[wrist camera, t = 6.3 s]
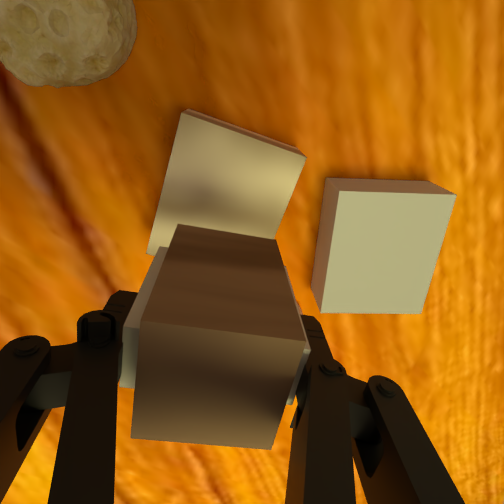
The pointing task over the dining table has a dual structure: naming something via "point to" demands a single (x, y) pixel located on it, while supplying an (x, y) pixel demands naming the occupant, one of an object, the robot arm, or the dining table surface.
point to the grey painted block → (378, 244)
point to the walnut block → (217, 342)
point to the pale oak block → (224, 180)
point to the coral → (65, 39)
